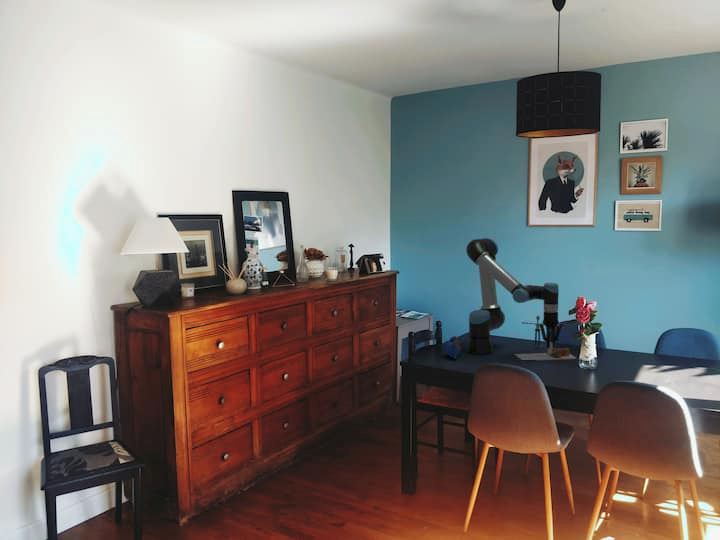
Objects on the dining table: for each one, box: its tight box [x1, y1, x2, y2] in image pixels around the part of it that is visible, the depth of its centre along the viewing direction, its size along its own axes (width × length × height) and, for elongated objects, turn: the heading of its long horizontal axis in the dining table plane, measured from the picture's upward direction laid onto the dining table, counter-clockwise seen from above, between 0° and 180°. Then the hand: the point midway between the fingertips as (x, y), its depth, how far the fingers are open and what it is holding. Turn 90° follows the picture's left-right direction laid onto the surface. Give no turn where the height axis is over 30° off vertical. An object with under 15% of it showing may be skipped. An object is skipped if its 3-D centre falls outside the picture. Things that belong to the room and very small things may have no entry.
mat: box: [514, 352, 577, 361], centre depth 311 cm, size 30×12×1 cm, turn 93°
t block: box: [547, 346, 571, 358], centre depth 311 cm, size 10×10×4 cm
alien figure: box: [521, 315, 544, 349], centre depth 331 cm, size 20×5×19 cm, turn 62°
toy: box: [443, 335, 462, 360], centre depth 315 cm, size 11×10×15 cm
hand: (550, 353), depth 311 cm, fingers closed
